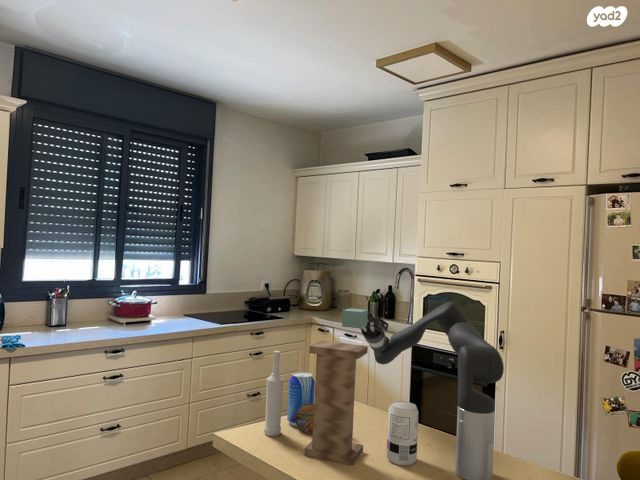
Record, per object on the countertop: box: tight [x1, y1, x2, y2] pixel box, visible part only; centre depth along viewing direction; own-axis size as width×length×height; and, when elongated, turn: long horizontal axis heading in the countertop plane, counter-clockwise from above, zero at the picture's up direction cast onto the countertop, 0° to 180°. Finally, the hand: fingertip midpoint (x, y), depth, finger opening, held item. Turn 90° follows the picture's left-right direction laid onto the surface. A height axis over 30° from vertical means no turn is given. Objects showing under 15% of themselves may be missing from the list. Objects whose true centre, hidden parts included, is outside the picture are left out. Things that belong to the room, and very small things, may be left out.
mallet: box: [341, 307, 369, 330], centre depth 151 cm, size 6×19×5 cm, turn 159°
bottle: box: [263, 350, 285, 437], centre depth 144 cm, size 5×5×25 cm
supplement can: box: [386, 400, 419, 466], centre depth 129 cm, size 8×8×15 cm
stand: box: [303, 340, 369, 467], centre depth 131 cm, size 14×10×30 cm
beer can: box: [286, 371, 315, 428], centre depth 153 cm, size 8×8×16 cm
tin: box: [295, 404, 314, 434], centre depth 147 cm, size 15×3×8 cm, turn 84°
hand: (363, 314), depth 155 cm, fingers closed on mallet, 2 cm apart
